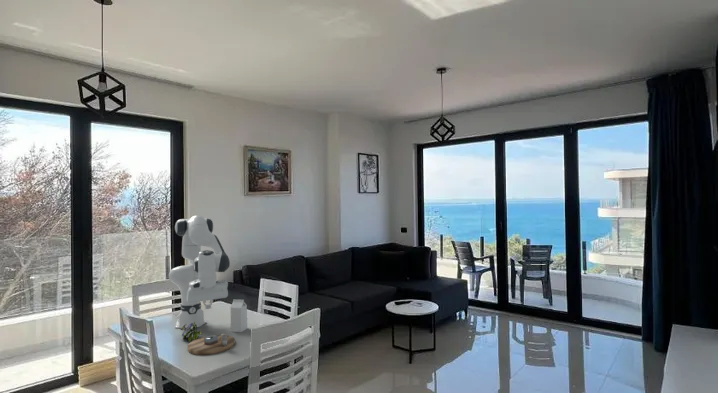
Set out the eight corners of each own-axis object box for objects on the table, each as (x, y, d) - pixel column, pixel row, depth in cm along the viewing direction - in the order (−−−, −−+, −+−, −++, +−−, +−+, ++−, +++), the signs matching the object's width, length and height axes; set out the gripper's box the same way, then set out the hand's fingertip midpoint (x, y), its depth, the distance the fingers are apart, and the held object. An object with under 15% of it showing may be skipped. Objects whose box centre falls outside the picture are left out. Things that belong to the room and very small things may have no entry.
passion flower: (184, 349, 233) (181, 329, 238) (204, 342, 237) (200, 323, 243) (182, 343, 224) (178, 323, 229) (202, 336, 228) (198, 317, 234)
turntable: (177, 350, 215) (177, 335, 215) (214, 336, 236) (213, 322, 236) (208, 358, 204) (208, 342, 204) (243, 342, 224) (243, 328, 224)
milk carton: (241, 332, 242) (241, 301, 242) (230, 332, 244) (230, 300, 244) (247, 328, 249) (246, 298, 249) (236, 328, 251) (236, 297, 251)
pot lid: (201, 343, 218) (201, 338, 218) (211, 339, 224) (211, 334, 224) (210, 346, 215) (210, 340, 215) (220, 341, 221) (220, 336, 221)
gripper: (226, 278, 219) (226, 304, 219) (185, 283, 208) (186, 310, 208) (229, 280, 213) (229, 306, 213) (187, 285, 203) (188, 313, 203)
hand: (208, 308), depth 211 cm, fingers closed
